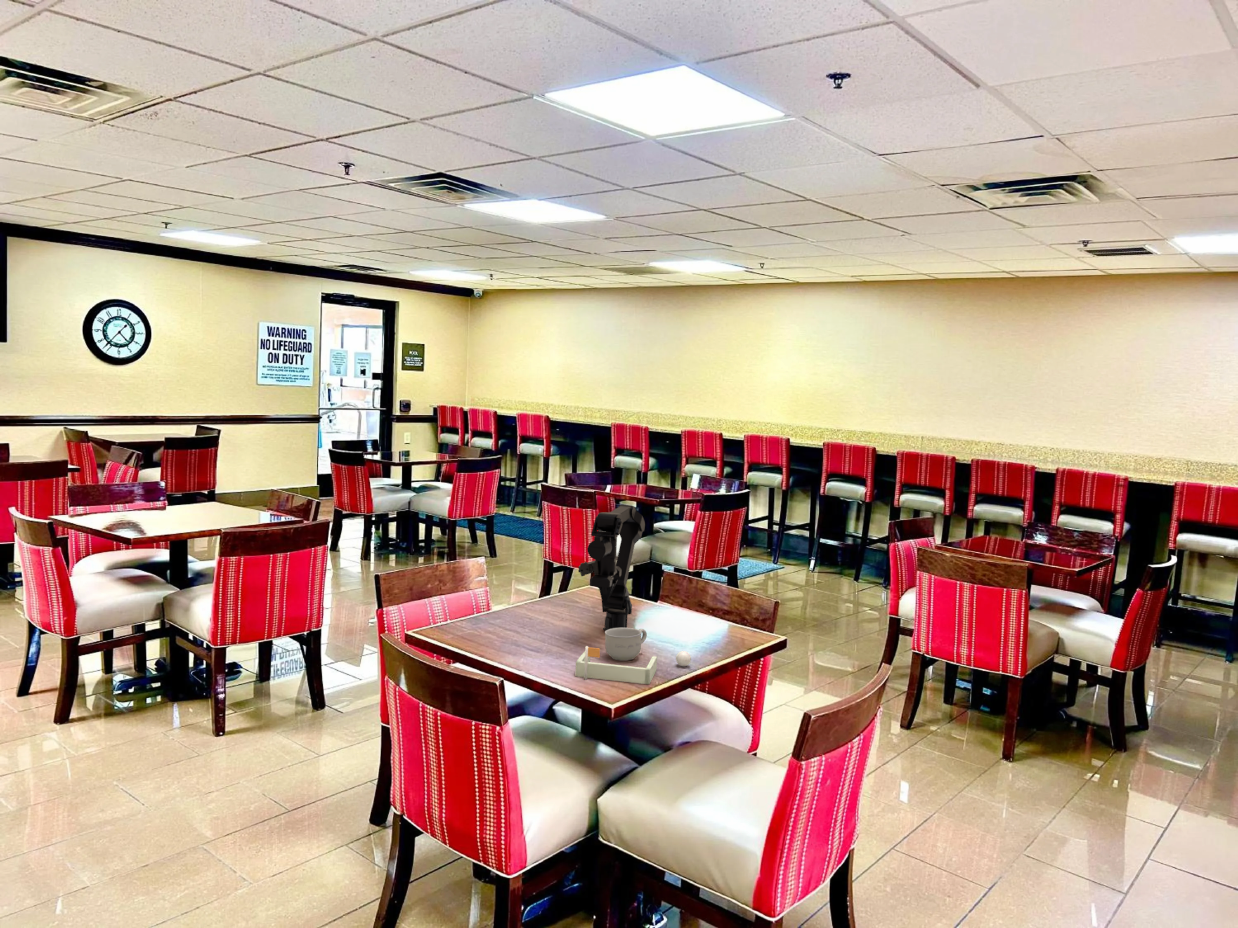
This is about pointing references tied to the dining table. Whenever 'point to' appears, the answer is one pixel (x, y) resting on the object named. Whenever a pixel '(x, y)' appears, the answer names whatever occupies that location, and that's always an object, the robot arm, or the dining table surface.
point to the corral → (613, 669)
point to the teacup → (624, 642)
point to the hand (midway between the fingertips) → (604, 603)
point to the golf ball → (683, 658)
